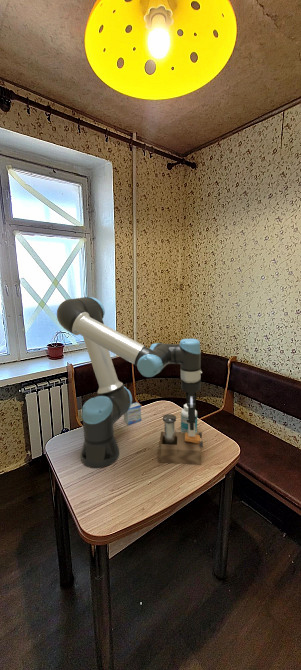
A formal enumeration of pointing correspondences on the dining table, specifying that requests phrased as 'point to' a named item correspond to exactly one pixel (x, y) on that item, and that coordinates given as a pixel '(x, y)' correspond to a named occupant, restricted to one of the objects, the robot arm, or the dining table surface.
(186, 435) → the plate
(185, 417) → the pill bottle
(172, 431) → the steel pin
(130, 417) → the medicine box
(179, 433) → the block
